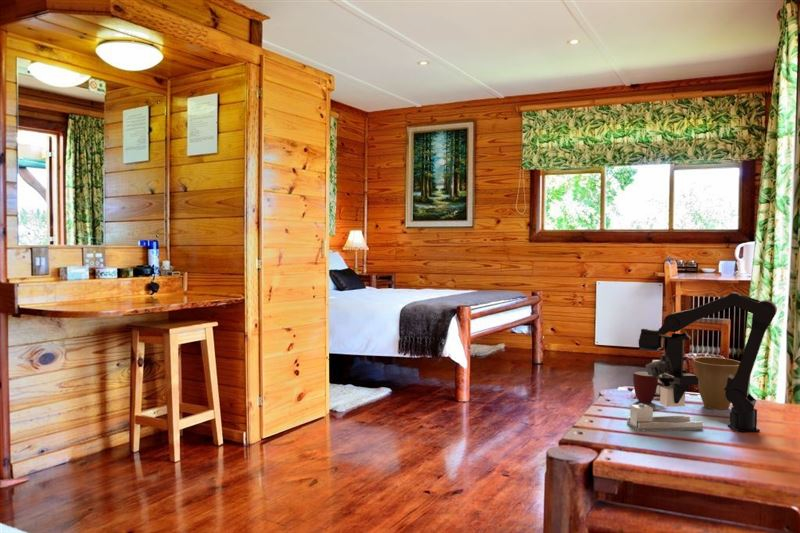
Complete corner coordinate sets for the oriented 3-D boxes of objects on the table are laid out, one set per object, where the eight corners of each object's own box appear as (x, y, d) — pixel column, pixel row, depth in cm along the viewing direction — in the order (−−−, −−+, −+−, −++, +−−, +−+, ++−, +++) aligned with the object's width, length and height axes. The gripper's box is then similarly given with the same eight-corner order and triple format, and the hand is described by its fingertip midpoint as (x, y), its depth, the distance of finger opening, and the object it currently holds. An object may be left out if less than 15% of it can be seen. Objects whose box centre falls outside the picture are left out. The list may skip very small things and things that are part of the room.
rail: (687, 422, 196) (688, 400, 196) (702, 429, 188) (703, 406, 188) (626, 423, 193) (627, 401, 193) (639, 431, 186) (640, 407, 186)
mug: (666, 402, 222) (667, 373, 222) (663, 407, 215) (664, 377, 215) (634, 398, 227) (635, 370, 227) (630, 402, 220) (631, 374, 220)
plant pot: (686, 401, 224) (687, 356, 224) (730, 403, 222) (732, 357, 222) (700, 411, 209) (701, 363, 209) (747, 414, 207) (749, 365, 207)
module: (677, 403, 203) (678, 384, 203) (684, 406, 199) (685, 386, 199) (660, 403, 202) (660, 384, 202) (666, 406, 198) (667, 387, 198)
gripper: (635, 348, 208) (633, 395, 209) (666, 358, 190) (664, 409, 190) (666, 347, 210) (665, 394, 210) (700, 357, 191) (699, 409, 192)
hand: (672, 401), depth 201 cm, fingers closed on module, 4 cm apart
